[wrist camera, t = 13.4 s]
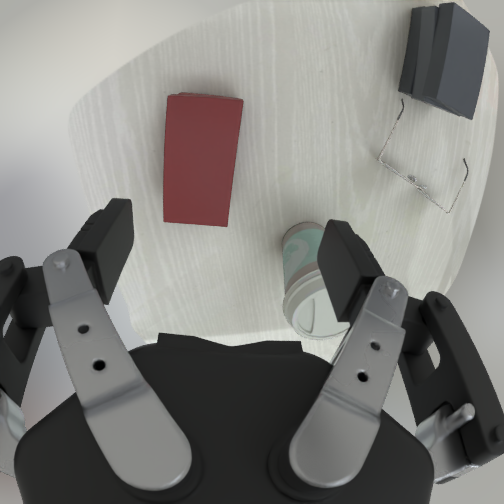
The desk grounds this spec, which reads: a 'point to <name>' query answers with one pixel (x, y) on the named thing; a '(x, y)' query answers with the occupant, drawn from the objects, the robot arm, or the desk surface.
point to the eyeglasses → (413, 176)
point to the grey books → (445, 58)
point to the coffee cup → (307, 286)
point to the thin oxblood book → (200, 158)
